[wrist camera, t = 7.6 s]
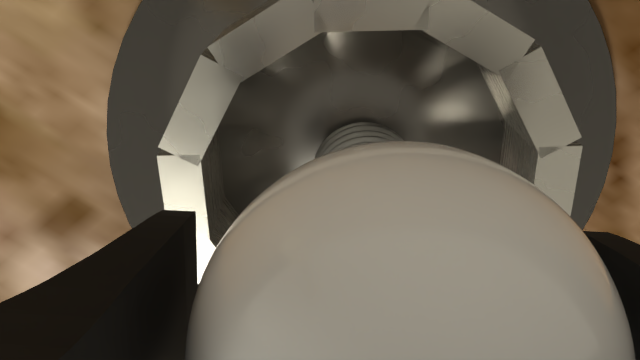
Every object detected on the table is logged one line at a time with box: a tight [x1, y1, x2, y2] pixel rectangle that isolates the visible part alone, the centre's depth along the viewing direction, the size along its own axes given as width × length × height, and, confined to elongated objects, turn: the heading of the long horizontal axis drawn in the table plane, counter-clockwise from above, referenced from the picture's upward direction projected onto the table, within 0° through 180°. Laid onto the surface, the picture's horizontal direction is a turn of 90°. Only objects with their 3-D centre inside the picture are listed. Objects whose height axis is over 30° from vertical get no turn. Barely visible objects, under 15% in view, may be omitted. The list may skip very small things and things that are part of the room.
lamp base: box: [107, 0, 616, 285], centre depth 15 cm, size 14×14×3 cm
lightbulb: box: [185, 122, 636, 360], centre depth 11 cm, size 6×6×11 cm
